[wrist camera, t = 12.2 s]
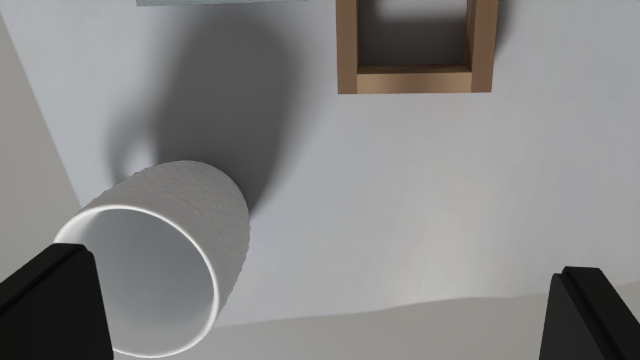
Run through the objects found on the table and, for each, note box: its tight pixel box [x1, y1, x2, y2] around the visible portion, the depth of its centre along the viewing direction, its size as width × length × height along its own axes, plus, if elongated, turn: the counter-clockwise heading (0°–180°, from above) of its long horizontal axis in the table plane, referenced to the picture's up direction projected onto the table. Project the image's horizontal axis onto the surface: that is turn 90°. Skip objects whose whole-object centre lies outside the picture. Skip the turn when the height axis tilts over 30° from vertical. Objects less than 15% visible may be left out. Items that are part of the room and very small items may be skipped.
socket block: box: [336, 0, 499, 94], centre depth 35 cm, size 10×10×4 cm
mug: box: [53, 160, 250, 358], centre depth 38 cm, size 15×11×13 cm
